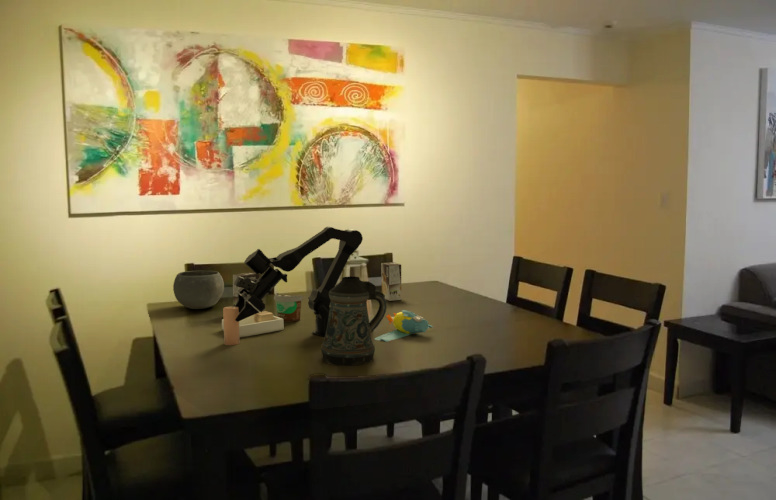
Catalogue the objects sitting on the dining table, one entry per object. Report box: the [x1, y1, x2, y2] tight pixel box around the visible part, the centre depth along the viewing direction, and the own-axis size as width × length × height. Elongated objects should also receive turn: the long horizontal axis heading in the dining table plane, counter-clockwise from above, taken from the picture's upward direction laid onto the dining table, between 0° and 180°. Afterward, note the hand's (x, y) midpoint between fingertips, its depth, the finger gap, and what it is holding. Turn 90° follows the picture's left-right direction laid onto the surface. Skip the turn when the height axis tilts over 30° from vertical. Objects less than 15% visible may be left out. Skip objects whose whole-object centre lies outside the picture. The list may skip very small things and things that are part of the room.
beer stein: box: [320, 276, 388, 367], centre depth 196 cm, size 16×19×25 cm
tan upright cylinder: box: [222, 306, 241, 346], centre depth 214 cm, size 5×5×12 cm
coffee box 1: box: [232, 272, 260, 313], centre depth 261 cm, size 9×6×16 cm
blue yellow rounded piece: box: [373, 309, 434, 343], centre depth 227 cm, size 28×9×15 cm
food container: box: [273, 292, 304, 323], centre depth 247 cm, size 12×6×10 cm, turn 62°
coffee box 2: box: [380, 261, 402, 302], centre depth 290 cm, size 9×6×16 cm
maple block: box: [254, 310, 274, 323], centre depth 235 cm, size 5×5×5 cm
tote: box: [221, 315, 285, 338], centre depth 232 cm, size 14×18×4 cm
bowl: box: [172, 270, 225, 310], centre depth 270 cm, size 20×20×15 cm
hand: (233, 317), depth 214 cm, fingers open, 9 cm apart
